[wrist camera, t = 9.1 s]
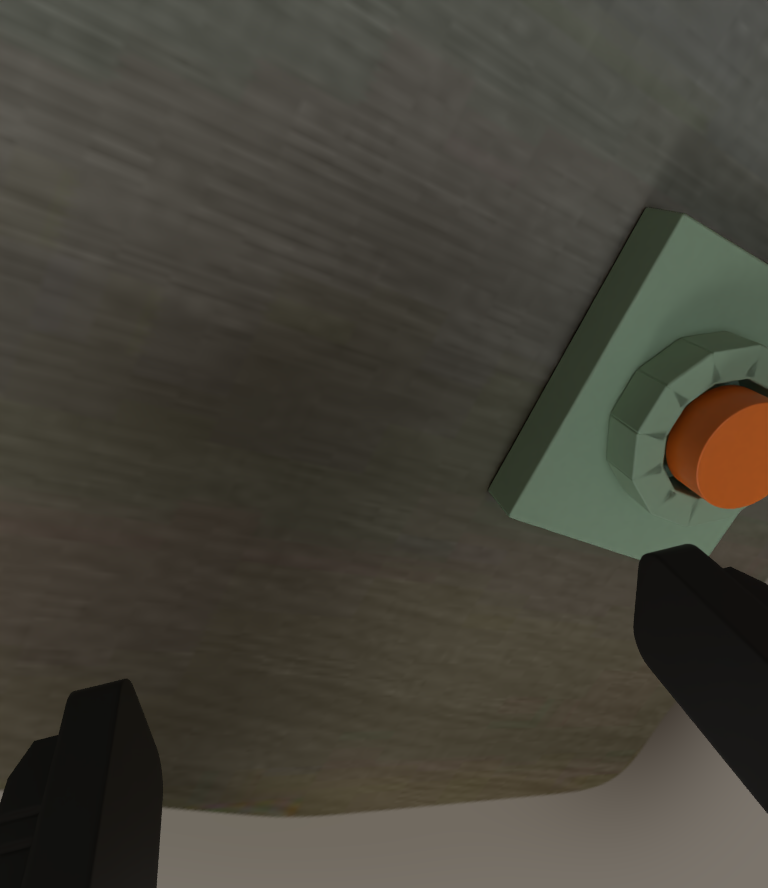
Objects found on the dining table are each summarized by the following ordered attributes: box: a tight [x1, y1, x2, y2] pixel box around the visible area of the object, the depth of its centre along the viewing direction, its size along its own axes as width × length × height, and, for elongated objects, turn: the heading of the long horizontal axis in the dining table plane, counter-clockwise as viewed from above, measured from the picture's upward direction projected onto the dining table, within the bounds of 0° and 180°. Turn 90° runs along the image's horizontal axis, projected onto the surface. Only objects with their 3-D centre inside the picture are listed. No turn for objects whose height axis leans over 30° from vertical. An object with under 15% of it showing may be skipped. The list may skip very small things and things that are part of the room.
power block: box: [489, 207, 768, 560], centre depth 25 cm, size 12×10×4 cm
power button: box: [666, 385, 768, 509], centre depth 23 cm, size 4×4×2 cm
